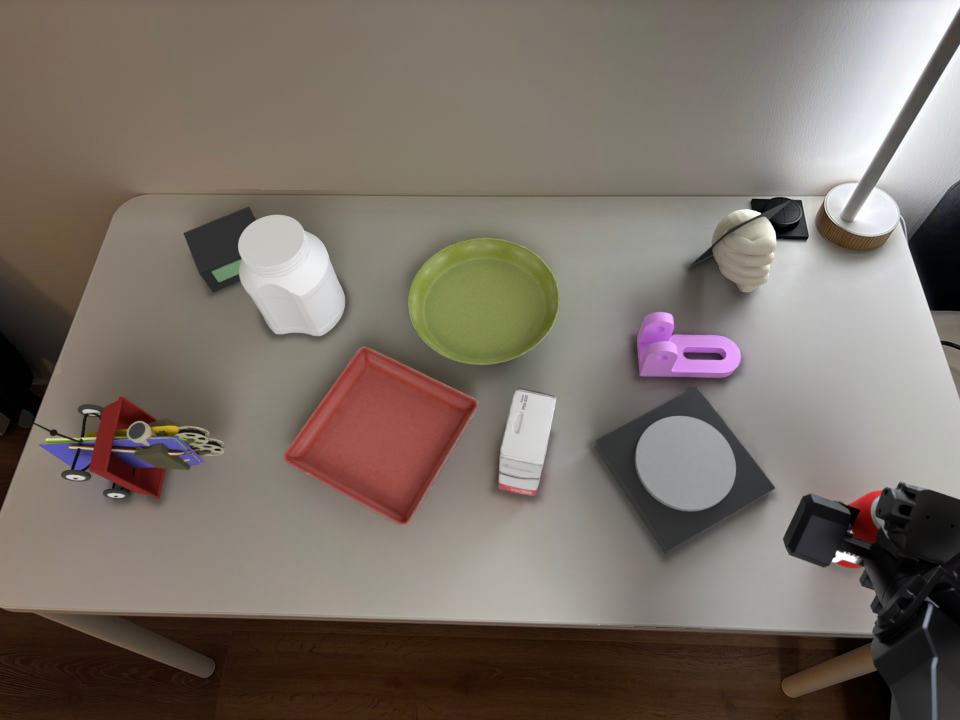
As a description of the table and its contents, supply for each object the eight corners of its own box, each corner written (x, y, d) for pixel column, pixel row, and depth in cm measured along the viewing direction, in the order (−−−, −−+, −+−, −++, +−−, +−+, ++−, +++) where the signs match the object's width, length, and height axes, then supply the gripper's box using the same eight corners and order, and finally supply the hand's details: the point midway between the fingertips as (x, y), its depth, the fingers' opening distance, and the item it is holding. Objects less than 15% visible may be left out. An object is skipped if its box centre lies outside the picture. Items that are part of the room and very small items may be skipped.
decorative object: (772, 283, 94) (715, 311, 92) (735, 223, 96) (678, 250, 94) (825, 247, 82) (761, 280, 80) (782, 179, 83) (718, 209, 81)
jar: (350, 280, 95) (324, 211, 81) (338, 337, 90) (309, 274, 77) (274, 277, 96) (235, 208, 82) (258, 333, 91) (215, 270, 78)
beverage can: (881, 562, 73) (944, 538, 63) (830, 576, 73) (884, 554, 62) (854, 510, 76) (910, 479, 66) (804, 523, 76) (852, 493, 65)
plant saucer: (366, 354, 89) (361, 342, 86) (482, 411, 84) (481, 400, 81) (287, 467, 82) (279, 458, 79) (410, 535, 77) (406, 529, 74)
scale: (769, 493, 78) (778, 485, 75) (664, 554, 75) (670, 548, 72) (692, 393, 84) (698, 383, 81) (594, 446, 81) (596, 437, 79)
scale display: (278, 266, 96) (267, 245, 92) (213, 293, 95) (199, 273, 90) (260, 228, 100) (248, 206, 96) (197, 254, 98) (183, 232, 94)
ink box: (538, 498, 78) (542, 466, 68) (497, 489, 79) (495, 456, 69) (551, 433, 82) (557, 393, 72) (512, 425, 83) (512, 384, 73)
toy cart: (96, 437, 86) (241, 422, 84) (79, 507, 81) (232, 492, 80) (-7, 381, 71) (167, 361, 69) (-34, 462, 66) (151, 443, 64)
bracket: (639, 376, 86) (649, 350, 79) (636, 339, 88) (646, 311, 82) (740, 378, 85) (758, 352, 79) (734, 340, 87) (751, 313, 81)
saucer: (587, 299, 92) (590, 286, 89) (495, 404, 85) (495, 394, 82) (474, 228, 98) (473, 214, 95) (380, 320, 91) (376, 308, 88)
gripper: (1096, 569, 50) (1005, 483, 65) (845, 484, 54) (812, 420, 69) (1023, 677, 54) (952, 573, 68) (792, 590, 58) (771, 509, 72)
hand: (872, 516), depth 69 cm, fingers open, 7 cm apart
